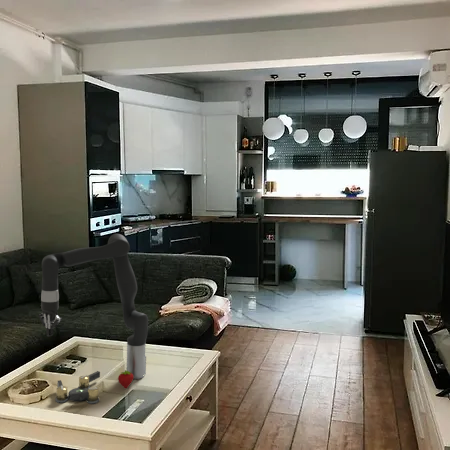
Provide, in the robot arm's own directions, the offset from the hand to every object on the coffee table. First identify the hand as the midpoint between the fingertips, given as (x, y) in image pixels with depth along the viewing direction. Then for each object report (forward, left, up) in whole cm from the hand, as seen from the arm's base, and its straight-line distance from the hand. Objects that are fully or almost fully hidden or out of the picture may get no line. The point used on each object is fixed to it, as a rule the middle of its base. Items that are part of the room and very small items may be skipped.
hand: (49, 335), depth 229 cm
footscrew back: (-15, +11, -26) cm, 32 cm away
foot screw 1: (+1, +8, -26) cm, 27 cm away
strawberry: (-22, +27, -27) cm, 44 cm away
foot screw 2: (-1, +21, -26) cm, 33 cm away
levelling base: (-4, +17, -27) cm, 32 cm away
